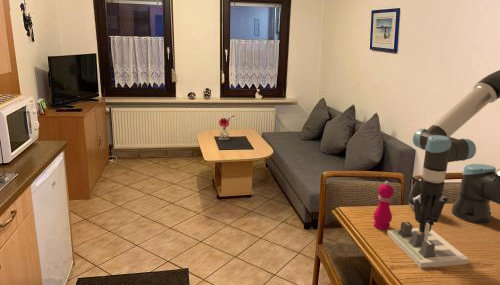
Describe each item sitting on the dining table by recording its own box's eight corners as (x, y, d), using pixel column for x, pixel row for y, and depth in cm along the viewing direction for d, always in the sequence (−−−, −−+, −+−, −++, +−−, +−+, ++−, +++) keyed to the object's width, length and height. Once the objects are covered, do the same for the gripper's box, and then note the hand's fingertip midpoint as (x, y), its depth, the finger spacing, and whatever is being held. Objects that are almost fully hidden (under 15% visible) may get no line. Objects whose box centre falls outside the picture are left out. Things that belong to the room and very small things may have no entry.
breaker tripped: (420, 241, 148) (421, 229, 146) (425, 245, 144) (427, 234, 143) (409, 241, 147) (411, 230, 146) (414, 246, 144) (415, 235, 143)
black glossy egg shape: (412, 202, 186) (416, 172, 182) (435, 210, 179) (440, 178, 175) (402, 209, 179) (407, 177, 175) (425, 216, 172) (430, 184, 168)
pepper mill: (391, 231, 158) (398, 185, 153) (373, 229, 160) (378, 183, 154) (389, 223, 165) (395, 178, 160) (371, 221, 167) (376, 177, 161)
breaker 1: (408, 231, 154) (410, 221, 153) (413, 236, 151) (414, 225, 150) (398, 232, 153) (399, 221, 152) (402, 236, 150) (403, 225, 149)
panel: (428, 231, 159) (429, 226, 159) (467, 264, 137) (468, 258, 137) (386, 234, 156) (387, 229, 156) (420, 268, 134) (421, 262, 134)
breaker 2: (429, 251, 141) (431, 239, 140) (435, 256, 138) (437, 244, 137) (418, 252, 140) (420, 240, 139) (423, 257, 137) (425, 245, 136)
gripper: (442, 174, 144) (433, 233, 150) (410, 176, 142) (401, 235, 148) (456, 182, 137) (445, 243, 143) (422, 184, 134) (412, 245, 141)
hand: (423, 239), depth 146 cm, fingers closed
